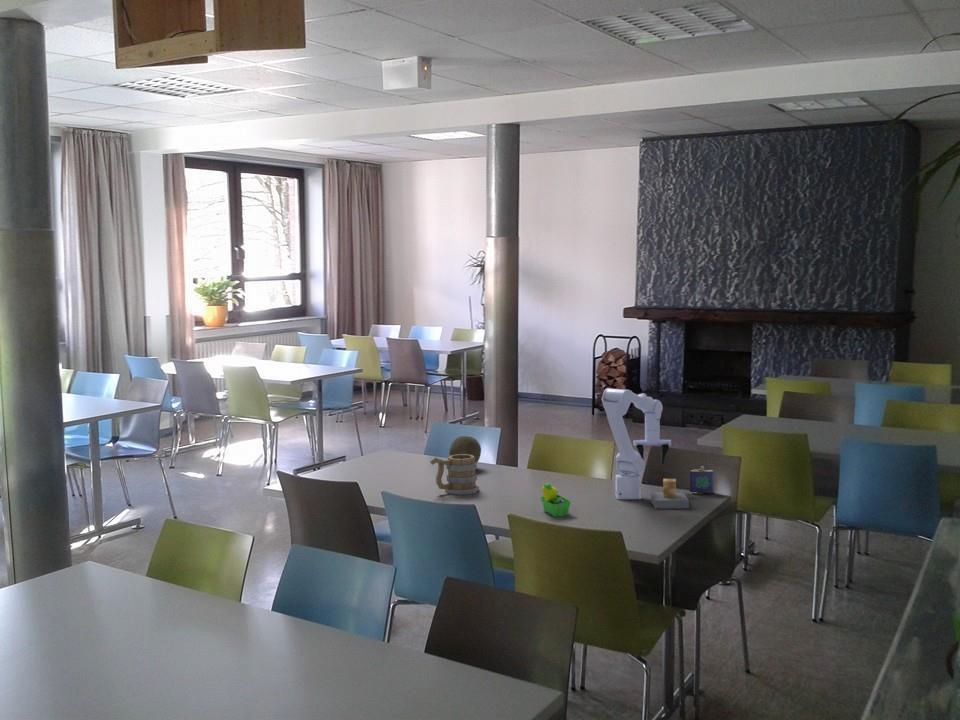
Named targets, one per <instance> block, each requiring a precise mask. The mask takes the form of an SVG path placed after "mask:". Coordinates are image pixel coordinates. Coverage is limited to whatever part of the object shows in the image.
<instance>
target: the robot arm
mask: <svg viewBox="0 0 960 720" xmlns="http://www.w3.org/2000/svg"><path fill="white" fill-rule="evenodd" d="M601 403H602V406H603V407H604V411H605V414H606V418H607V419H606V420H607V422H608V425H609V427H610V429H611V433H612V436H613V438H614V442H615V444H616V448H617V450H618V453H617V454H616V455H615V457H614V458H615V459H614V460H615V462H616V463H615V466H616V467H615V468H616V469H617V471H618V473H619V474H615V481H614V482H615V484H614V485H615V488H614V493H615V497H616V499H617V500H642V499H643V496H642V494H641V476H642V475H643V473H644V471H645V469H646V462H645V458H644V455H645V454H644V452H645V451H644V450H645V448H644V446H660V463H661V465H664V463H665V458H666V455H667V453H668V450H669V449H670V447H671V446H672V440H671V439H660V438H661V437H660V434H661V433H660V432H661V431H660V430H661V429H660V428H661V427H660V425H661V423H660V422H661V421H660V420H661V417H662V412H663V408H664V407H663V404H662V401H660V400H659V399H653V397H652V396H648V395H647V393H643V392H642V393H639V394H637V393H635V392H633V391H632V390H630V389H622V388H621V389H618V388H610V387H606V388H605V389H604V391H603V393H602V396H601ZM631 403H632V404H633V406H634V407H635V408H637V409H638V410H641V411H642V413H643V414H644V439H637V440H636V439H635V440H633V444H632V442H631V439H630V436H629V433H628V429H627V427H626V424H625V421H624V418H623V416H625V415H626V414H627V413H628V410H629V408H630V406H631ZM633 446H634V447H635V448H636V449H637V451H636V450H635V449H634V447H633ZM640 494H641V495H640ZM637 498H638V499H637ZM641 498H642V499H641Z"/></svg>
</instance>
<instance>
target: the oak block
mask: <svg viewBox="0 0 960 720" xmlns="http://www.w3.org/2000/svg"><path fill="white" fill-rule="evenodd" d="M662 482H663V483H662V484H663V485H662V489H663V490H662V491H663V497H668V498H676V492H677V478H663V480H662Z"/></svg>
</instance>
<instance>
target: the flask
mask: <svg viewBox="0 0 960 720" xmlns="http://www.w3.org/2000/svg"><path fill="white" fill-rule="evenodd" d="M690 492H697V493H708V494H707V495H712V494H714V493H715V471H714V470H712V469H708V470H707V469H706V470H705V467H704V465H703V466H702V465H701V466H700V468H699V469H698V468H697V469H695V468H694V469H692V470H689V493H690Z"/></svg>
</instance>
